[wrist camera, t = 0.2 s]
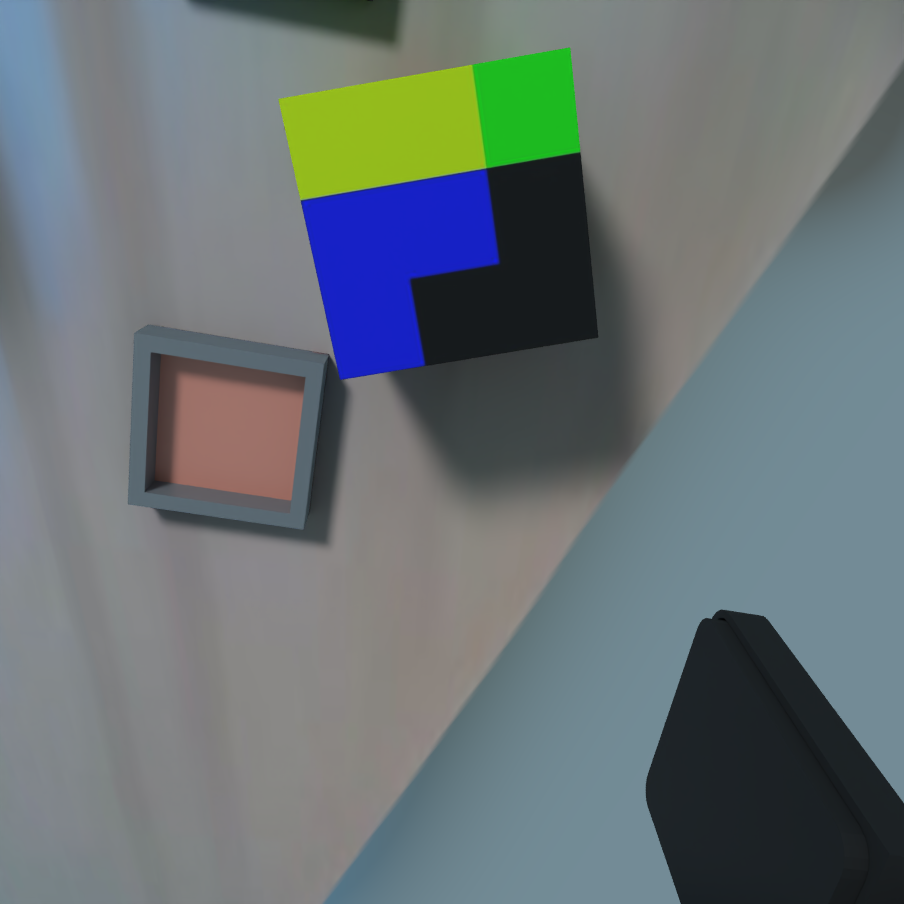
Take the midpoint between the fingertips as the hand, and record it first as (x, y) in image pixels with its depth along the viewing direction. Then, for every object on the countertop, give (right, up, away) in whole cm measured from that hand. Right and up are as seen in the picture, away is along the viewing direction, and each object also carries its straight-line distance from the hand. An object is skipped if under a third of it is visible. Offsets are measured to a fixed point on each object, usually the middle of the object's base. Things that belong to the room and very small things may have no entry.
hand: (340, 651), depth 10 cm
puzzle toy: (+1, +14, +28) cm, 31 cm away
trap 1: (-10, +4, +31) cm, 33 cm away
